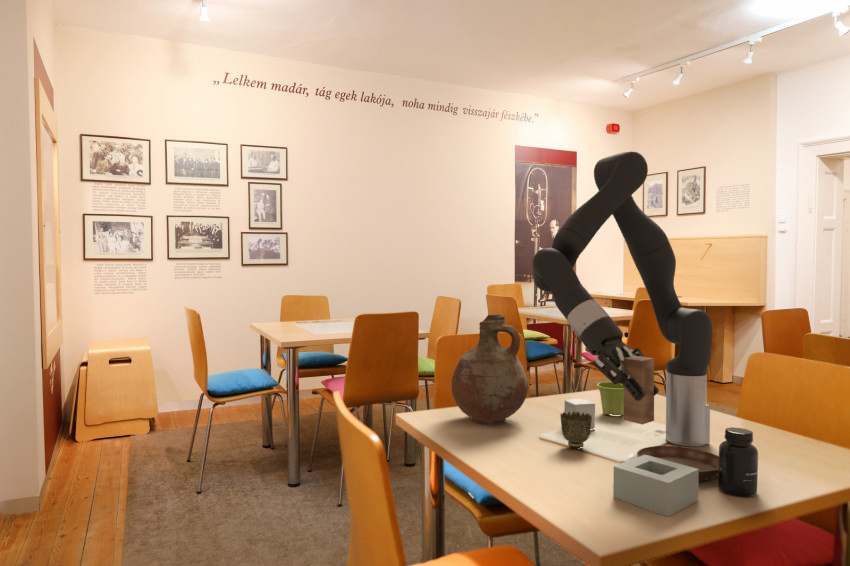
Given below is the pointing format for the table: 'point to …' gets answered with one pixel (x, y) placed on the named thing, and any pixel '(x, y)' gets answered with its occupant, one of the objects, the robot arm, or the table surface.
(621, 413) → the plant pot
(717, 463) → the plant saucer
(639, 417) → the brown wooden bar
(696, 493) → the socket block
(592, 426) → the product box
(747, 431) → the supplement bottle
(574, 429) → the cup
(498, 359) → the jug
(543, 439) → the table surface
